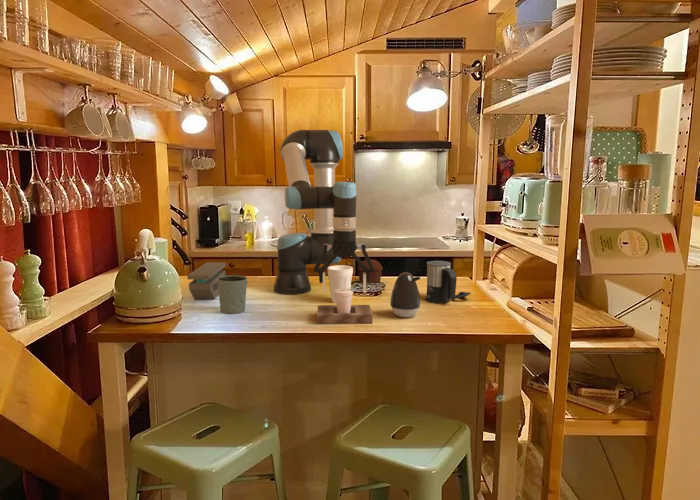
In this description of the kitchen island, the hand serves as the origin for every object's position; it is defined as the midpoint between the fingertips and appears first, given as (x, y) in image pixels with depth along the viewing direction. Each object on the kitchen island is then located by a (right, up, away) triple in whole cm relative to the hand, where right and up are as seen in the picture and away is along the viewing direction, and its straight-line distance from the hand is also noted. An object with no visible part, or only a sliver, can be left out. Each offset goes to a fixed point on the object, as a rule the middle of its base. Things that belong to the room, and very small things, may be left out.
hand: (344, 292), depth 174 cm
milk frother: (+40, -5, +25) cm, 47 cm away
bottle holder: (0, -9, +1) cm, 9 cm away
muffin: (+11, 0, +54) cm, 55 cm away
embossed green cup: (-39, -8, +10) cm, 41 cm away
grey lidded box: (-54, -4, +31) cm, 62 cm away
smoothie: (0, -9, +1) cm, 9 cm away
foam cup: (-2, -6, +23) cm, 24 cm away
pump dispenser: (+21, -9, +5) cm, 23 cm away
